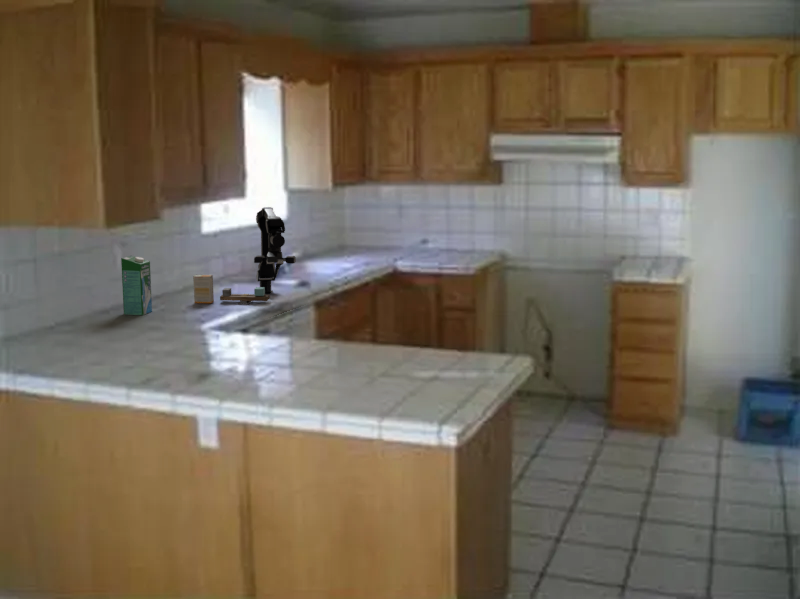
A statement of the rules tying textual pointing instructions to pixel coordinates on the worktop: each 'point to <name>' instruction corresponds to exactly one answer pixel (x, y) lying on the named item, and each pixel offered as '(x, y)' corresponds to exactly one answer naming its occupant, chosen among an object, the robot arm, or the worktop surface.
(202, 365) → the worktop surface
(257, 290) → the block
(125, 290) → the milk carton
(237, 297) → the brown long slotted block
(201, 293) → the supplement box
